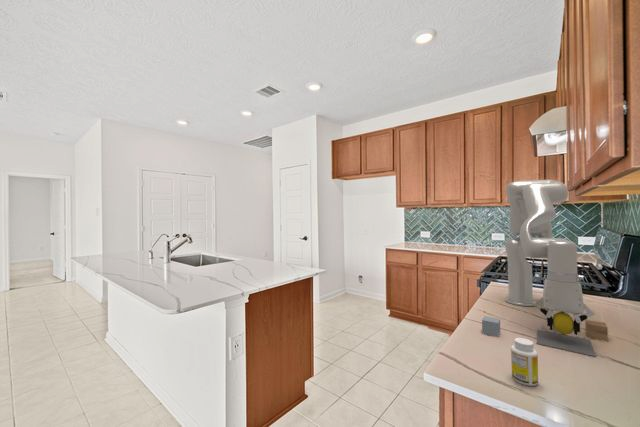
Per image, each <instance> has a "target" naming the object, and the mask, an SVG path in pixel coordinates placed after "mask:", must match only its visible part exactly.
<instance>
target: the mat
mask: <svg viewBox="0 0 640 427" xmlns="http://www.w3.org/2000/svg"><path fill="white" fill-rule="evenodd" d="M536 345H540V346H544V347H548V348H551V349H557V350H562V351H565V352H570V353H576V354H579V355H580V354H581V355H584V356H588V357H592V358H593V357H594V358H597V355H596V352H595V350H594V346H593V344H592V341H591V338H583V337H580V336H574V335H569V334H566V335H562V334H561V333H559V332H553V331H548V330H543V329H537V332H536Z"/></svg>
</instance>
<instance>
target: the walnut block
mask: <svg viewBox="0 0 640 427" xmlns="http://www.w3.org/2000/svg"><path fill="white" fill-rule="evenodd" d="M584 325H585V326H584V327H585V332H584V333H585V334H586V339H593V340H597V339H598V341H602V340H604V341H603V342H607V341H608V342H609V340H608V336H609V335H608V332H609V331H608V330H609V329H608V325H607V324H606V322H605V321H599V320H593V319H589V318H587V319H586V320H584Z"/></svg>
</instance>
